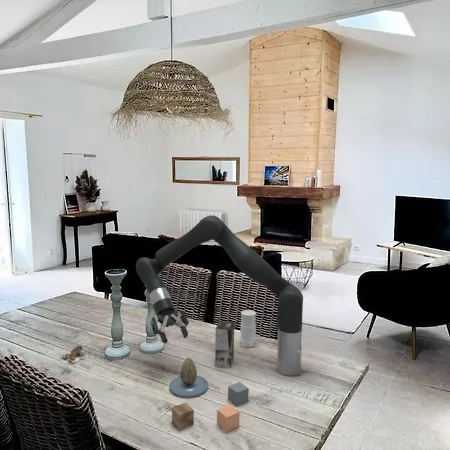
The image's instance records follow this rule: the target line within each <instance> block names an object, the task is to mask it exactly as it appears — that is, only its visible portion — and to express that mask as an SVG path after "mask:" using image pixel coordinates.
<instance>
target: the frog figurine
mask: <svg viewBox="0 0 450 450" xmlns="http://www.w3.org/2000/svg"><path fill="white" fill-rule="evenodd" d="M81 351H83V346H81V345H77V346H76V347H75V348H74V349H71V351H70V353H69V354H68V353H66V354H61V357H62V358H61V359H60V360H59V363H60V364H63V365H65V364H67V365H71V366H74V365H78V364H81V363H82V362H84V361H86V360H87V359H88V356H86V354H85V353H84V352H81ZM81 357H82V358H84V357H85V358H84V360H82V359H80V358H81Z"/></svg>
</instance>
